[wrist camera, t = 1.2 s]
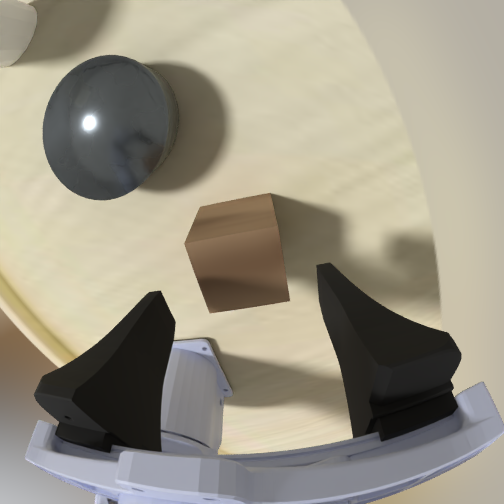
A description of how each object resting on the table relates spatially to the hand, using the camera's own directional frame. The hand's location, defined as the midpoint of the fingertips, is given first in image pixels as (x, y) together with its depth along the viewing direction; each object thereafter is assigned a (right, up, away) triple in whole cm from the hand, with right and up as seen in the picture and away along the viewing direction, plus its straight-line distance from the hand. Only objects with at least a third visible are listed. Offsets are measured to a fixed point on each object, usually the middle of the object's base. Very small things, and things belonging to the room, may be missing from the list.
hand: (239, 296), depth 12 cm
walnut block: (0, +3, +6) cm, 7 cm away
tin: (-8, +10, +2) cm, 13 cm away
